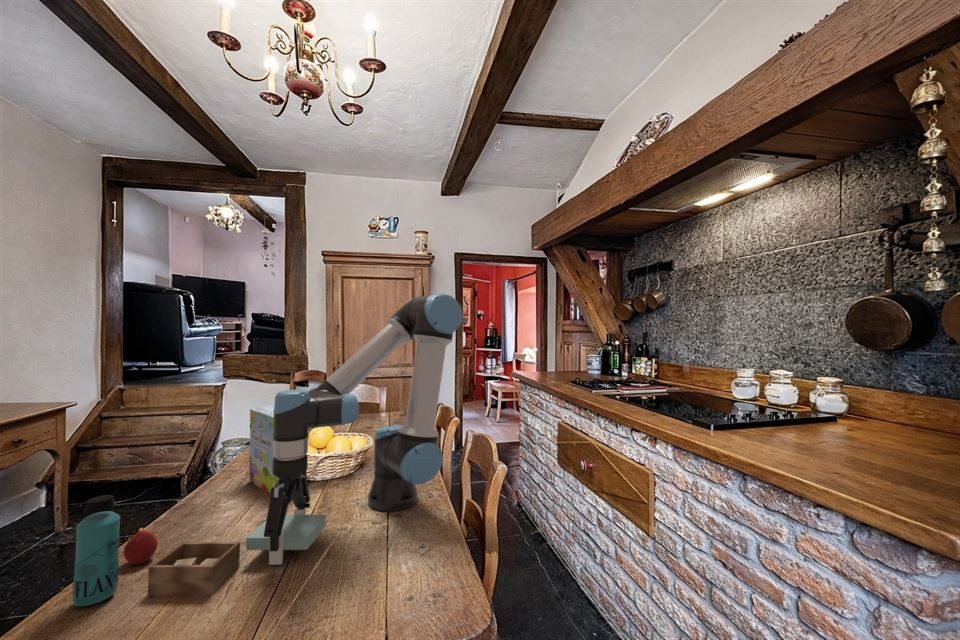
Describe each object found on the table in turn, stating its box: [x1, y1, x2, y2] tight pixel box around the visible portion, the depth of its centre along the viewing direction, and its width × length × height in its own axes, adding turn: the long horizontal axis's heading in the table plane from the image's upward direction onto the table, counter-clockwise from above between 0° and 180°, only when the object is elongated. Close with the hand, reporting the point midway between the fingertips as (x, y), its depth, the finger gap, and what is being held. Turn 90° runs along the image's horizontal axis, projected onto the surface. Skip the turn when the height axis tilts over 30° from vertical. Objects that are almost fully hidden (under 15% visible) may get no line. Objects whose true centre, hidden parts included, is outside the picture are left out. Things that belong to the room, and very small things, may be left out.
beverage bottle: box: [71, 494, 121, 607], centre depth 77 cm, size 6×7×20 cm
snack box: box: [249, 405, 279, 496], centre depth 137 cm, size 22×9×26 cm, turn 49°
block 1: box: [174, 558, 197, 565], centre depth 83 cm, size 4×4×4 cm
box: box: [147, 541, 241, 597], centre depth 84 cm, size 12×9×6 cm
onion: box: [123, 527, 159, 565], centre depth 90 cm, size 6×6×8 cm
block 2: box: [200, 558, 219, 565], centre depth 84 cm, size 4×4×4 cm
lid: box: [245, 514, 327, 551], centre depth 95 cm, size 13×12×4 cm
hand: (288, 549), depth 95 cm, fingers closed on lid, 11 cm apart
